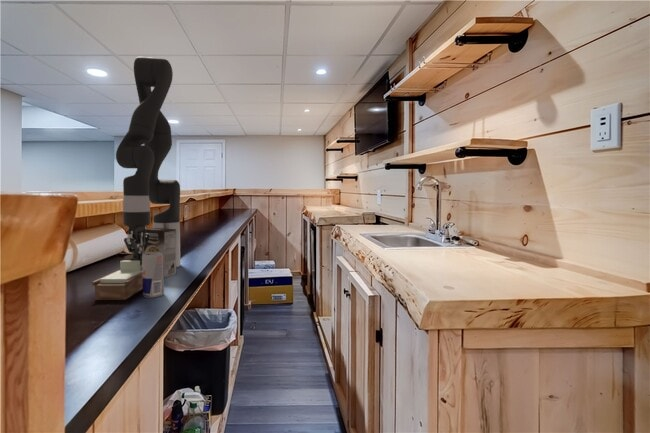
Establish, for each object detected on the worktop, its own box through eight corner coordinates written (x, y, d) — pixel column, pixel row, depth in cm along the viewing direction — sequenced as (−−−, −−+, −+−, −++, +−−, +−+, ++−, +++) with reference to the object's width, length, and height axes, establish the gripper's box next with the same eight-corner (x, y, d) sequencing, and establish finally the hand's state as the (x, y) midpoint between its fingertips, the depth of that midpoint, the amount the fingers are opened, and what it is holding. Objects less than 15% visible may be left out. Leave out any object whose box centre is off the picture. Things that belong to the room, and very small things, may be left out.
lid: (120, 274, 110) (119, 260, 109) (144, 273, 110) (143, 260, 110) (100, 283, 99) (99, 268, 98) (127, 283, 99) (126, 268, 99)
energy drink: (144, 293, 103) (143, 252, 103) (164, 291, 105) (163, 251, 105) (141, 298, 98) (140, 255, 98) (163, 297, 100) (162, 254, 100)
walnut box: (118, 286, 111) (117, 270, 110) (149, 286, 111) (149, 270, 111) (92, 300, 97) (91, 282, 96) (128, 299, 98) (127, 281, 97)
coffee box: (142, 275, 124) (141, 229, 123) (156, 271, 131) (155, 227, 129) (164, 278, 122) (163, 230, 121) (177, 273, 128) (176, 228, 127)
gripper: (140, 211, 106) (141, 269, 108) (157, 209, 120) (158, 261, 121) (113, 211, 106) (115, 269, 107) (133, 209, 119) (135, 261, 120)
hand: (138, 265), depth 114 cm, fingers closed
